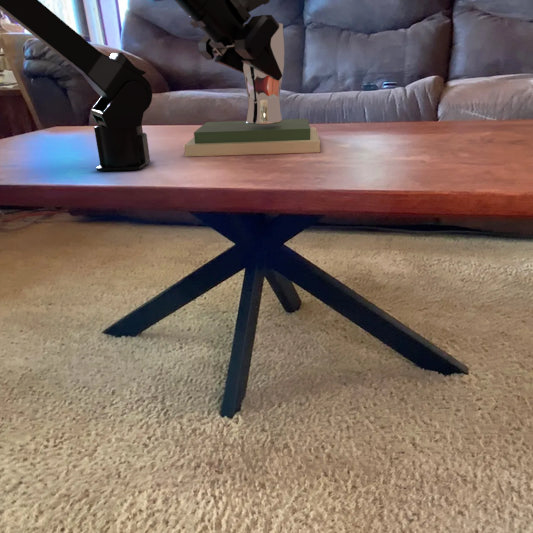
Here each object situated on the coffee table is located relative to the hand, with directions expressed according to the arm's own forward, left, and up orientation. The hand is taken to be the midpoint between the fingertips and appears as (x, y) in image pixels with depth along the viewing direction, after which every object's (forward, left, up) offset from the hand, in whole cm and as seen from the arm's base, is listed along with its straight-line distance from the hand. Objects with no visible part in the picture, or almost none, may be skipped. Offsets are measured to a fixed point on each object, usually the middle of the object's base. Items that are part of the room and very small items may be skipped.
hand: (269, 77), depth 84 cm
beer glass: (-1, -1, -7) cm, 7 cm away
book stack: (-3, +2, -11) cm, 12 cm away
